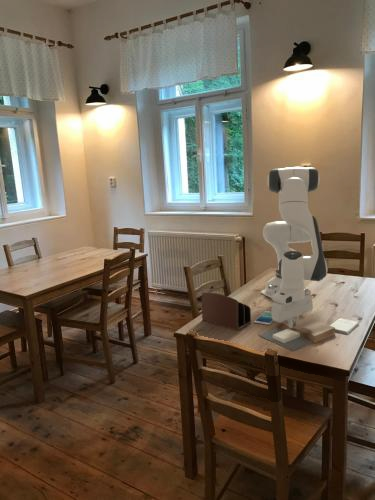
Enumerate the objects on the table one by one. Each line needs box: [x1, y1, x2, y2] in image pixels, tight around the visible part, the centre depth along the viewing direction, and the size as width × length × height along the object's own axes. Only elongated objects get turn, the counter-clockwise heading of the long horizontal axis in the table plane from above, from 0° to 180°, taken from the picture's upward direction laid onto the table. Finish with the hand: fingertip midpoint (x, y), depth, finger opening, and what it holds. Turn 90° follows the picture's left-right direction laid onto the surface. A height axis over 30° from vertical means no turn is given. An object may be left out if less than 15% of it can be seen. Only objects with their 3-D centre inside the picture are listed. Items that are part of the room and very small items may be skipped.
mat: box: [258, 327, 313, 352], centre depth 160 cm, size 18×11×1 cm, turn 34°
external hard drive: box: [329, 317, 359, 335], centre depth 168 cm, size 2×8×12 cm
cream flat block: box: [273, 329, 300, 343], centre depth 160 cm, size 6×9×2 cm, turn 124°
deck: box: [275, 315, 336, 344], centre depth 166 cm, size 20×12×3 cm, turn 34°
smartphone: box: [253, 310, 274, 326], centre depth 182 cm, size 8×1×15 cm
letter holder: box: [201, 292, 252, 331], centre depth 179 cm, size 10×20×14 cm, turn 47°
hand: (292, 326), depth 161 cm, fingers closed
